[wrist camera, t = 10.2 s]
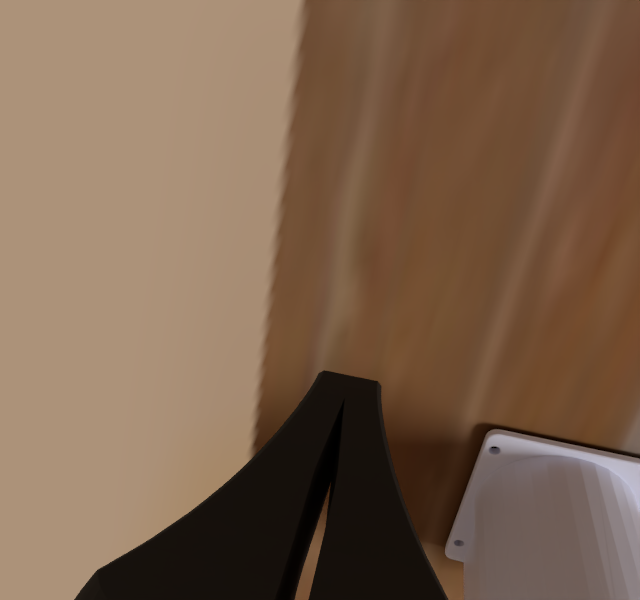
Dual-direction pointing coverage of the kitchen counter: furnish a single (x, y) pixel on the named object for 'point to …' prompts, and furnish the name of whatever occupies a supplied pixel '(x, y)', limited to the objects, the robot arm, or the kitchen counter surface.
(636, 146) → the kitchen counter surface
